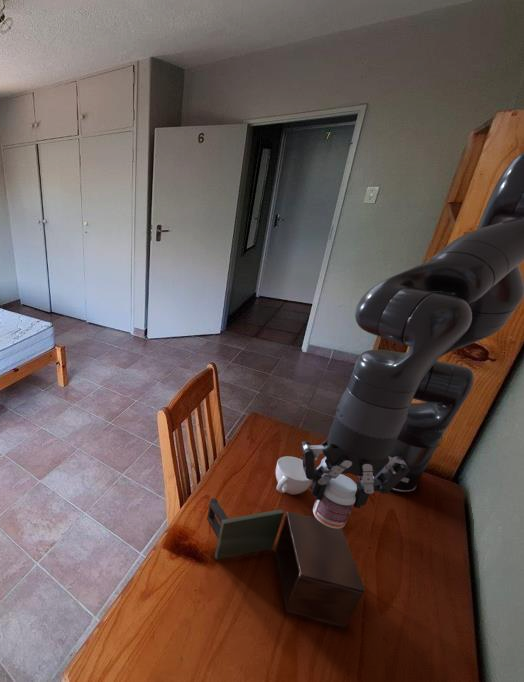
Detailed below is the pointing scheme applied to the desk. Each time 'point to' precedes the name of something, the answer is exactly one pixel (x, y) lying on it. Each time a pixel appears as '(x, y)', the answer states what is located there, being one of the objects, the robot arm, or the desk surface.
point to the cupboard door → (243, 531)
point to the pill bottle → (336, 502)
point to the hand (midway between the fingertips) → (335, 499)
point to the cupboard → (317, 571)
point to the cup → (291, 476)
